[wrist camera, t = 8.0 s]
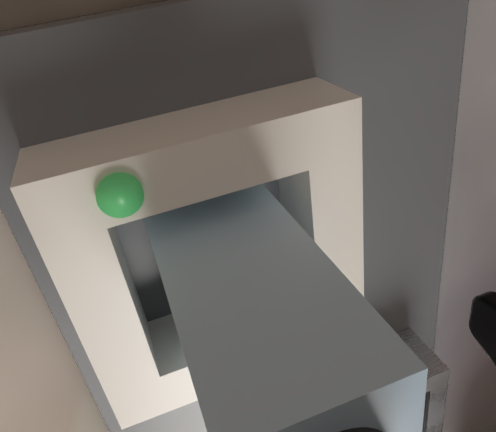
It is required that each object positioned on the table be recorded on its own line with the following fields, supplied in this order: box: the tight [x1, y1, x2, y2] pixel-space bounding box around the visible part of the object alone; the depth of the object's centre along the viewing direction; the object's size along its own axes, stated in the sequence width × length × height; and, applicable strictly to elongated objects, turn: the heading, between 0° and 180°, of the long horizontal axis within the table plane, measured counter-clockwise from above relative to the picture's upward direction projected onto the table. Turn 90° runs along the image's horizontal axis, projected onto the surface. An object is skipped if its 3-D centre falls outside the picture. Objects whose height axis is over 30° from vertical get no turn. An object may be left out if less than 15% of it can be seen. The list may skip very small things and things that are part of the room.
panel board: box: [0, 0, 469, 432], centre depth 17 cm, size 14×22×1 cm, turn 8°
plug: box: [143, 184, 428, 432], centre depth 10 cm, size 3×3×10 cm
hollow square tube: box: [396, 327, 450, 432], centre depth 19 cm, size 6×6×2 cm
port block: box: [10, 77, 364, 430], centre depth 13 cm, size 8×8×3 cm
